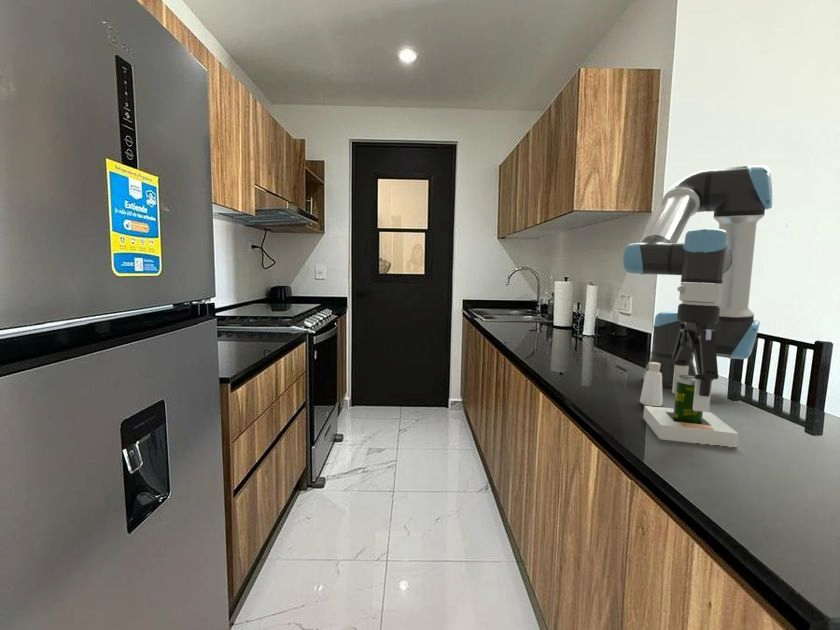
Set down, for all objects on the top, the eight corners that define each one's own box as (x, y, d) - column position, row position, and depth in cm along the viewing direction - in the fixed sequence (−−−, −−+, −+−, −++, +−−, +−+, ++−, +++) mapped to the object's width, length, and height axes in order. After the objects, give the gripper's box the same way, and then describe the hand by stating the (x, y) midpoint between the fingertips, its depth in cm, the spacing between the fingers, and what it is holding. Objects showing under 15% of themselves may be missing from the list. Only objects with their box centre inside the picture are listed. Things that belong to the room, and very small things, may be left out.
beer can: (691, 428, 99) (696, 375, 98) (706, 436, 94) (711, 381, 93) (667, 426, 99) (672, 374, 98) (680, 435, 94) (685, 380, 93)
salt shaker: (663, 408, 114) (668, 365, 113) (640, 405, 116) (644, 363, 115) (661, 402, 119) (664, 362, 118) (638, 399, 121) (642, 359, 120)
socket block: (643, 418, 105) (644, 404, 105) (709, 425, 102) (711, 411, 101) (659, 439, 92) (660, 424, 91) (736, 448, 88) (738, 432, 88)
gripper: (662, 299, 107) (654, 385, 109) (700, 306, 83) (689, 417, 85) (697, 301, 105) (688, 388, 107) (746, 309, 81) (734, 422, 83)
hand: (689, 401), depth 96 cm, fingers open, 13 cm apart
